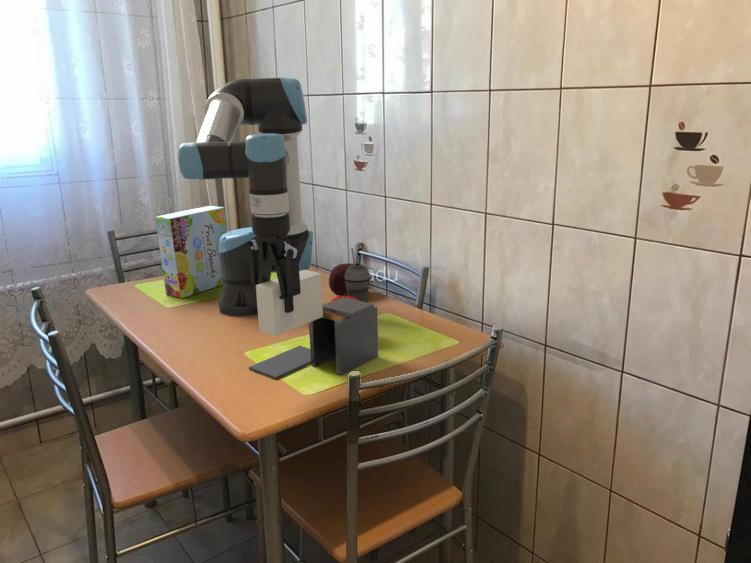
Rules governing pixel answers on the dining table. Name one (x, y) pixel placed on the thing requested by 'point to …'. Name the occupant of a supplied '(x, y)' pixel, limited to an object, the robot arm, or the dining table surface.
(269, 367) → the mat
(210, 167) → the robot arm
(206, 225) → the snack box
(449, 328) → the dining table surface
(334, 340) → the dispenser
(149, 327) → the dining table surface
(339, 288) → the potato
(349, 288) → the beverage cup
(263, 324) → the white rectangular block
